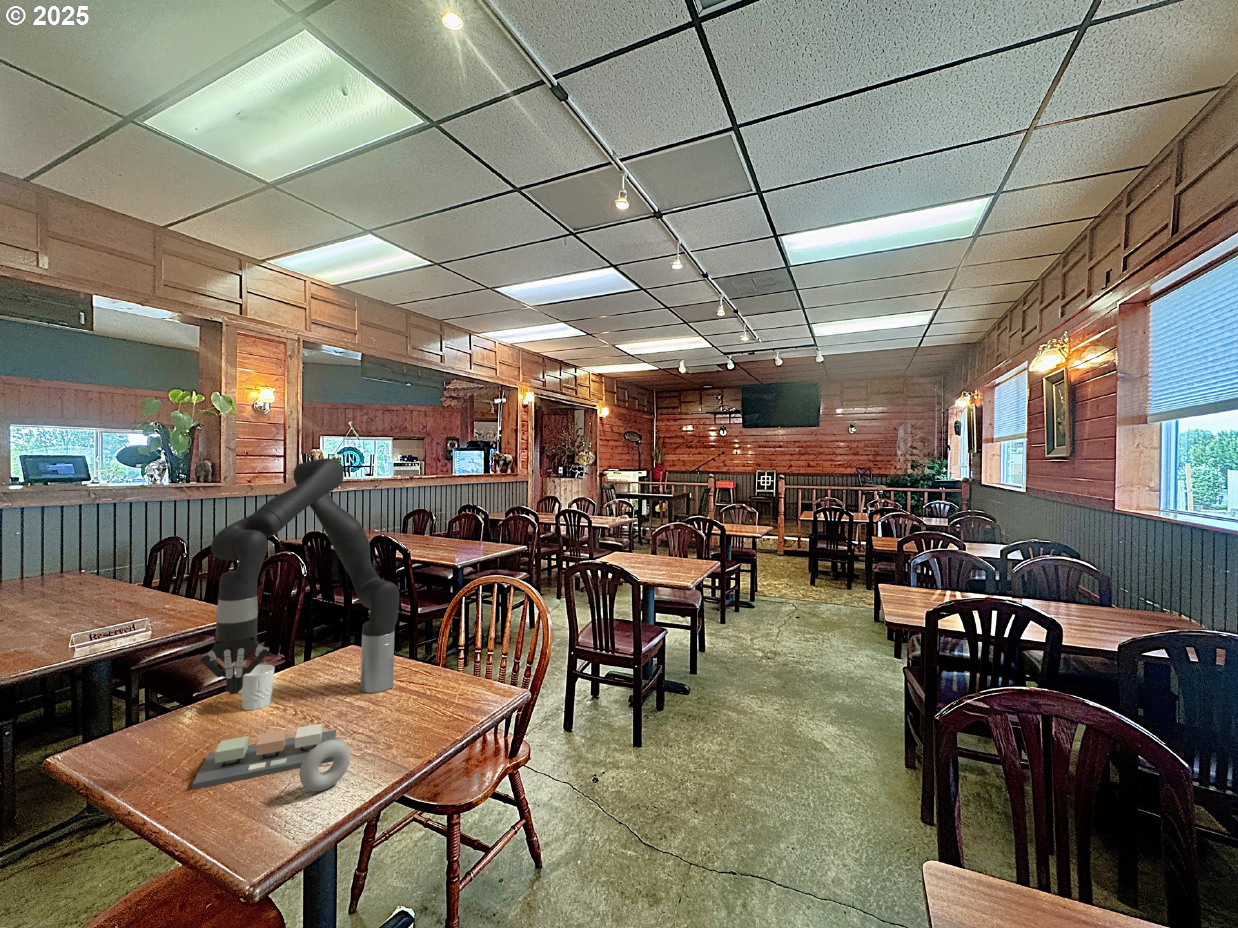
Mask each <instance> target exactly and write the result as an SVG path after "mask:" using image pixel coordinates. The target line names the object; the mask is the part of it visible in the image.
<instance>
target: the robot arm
mask: <svg viewBox="0 0 1238 928" xmlns="http://www.w3.org/2000/svg"><path fill="white" fill-rule="evenodd" d="M344 475H345V474H344V470H343V467H342V465H341V464H340V462H339V461H337V460H336V459H333V458H329V457H328V458H321V459H319V458H318V459H315V460H309V461H306V462H302V463H298V464H297V465H296V466H295V468H294V469H293V481H294V483H295V486H293V487H292V488H290V489H288V490H286V491H284V492H282V493H280V494H278V495H276V496H274V497H273V498H272V499H270V500H268V501H267V502H266V503H264V504H263V505H262V506H261V507H259V508H258V509H256V510H255V511H254V512H253V513H251V515H249V516H246V517H243V518H242V519H240V520H238V521H236V522H233V523H231V524H230V525H228V526H225V527H224V528H223V529H221V530H220V531H219V532H218V533H217V534H215V536H214V538H213V540H212V541H211V545H210V546H211V547H210V549H211V554H212V555H213V556H214V557H216V558H217V559H220V560H223V561H237V562H238V564H237V567H236V569H234V570H229V571H225V572H223V574H221V576H220V577H219V584H218V602H217V608H216V614H215V620H216V621H215V622H216V623H215V642H214V645H213V646H212V650H210V651H208V652H206V653H204V654H203V655H202V656H201V658H200V662H201V663H202V665H204V666H205V667H206V668H207V669H208V670H210V672H211V673H212V674H214V676H216V678H225V679H226V683H225V684H226V687H225V690H226V692H227V693H229V695H236V694H237V695H238V694H239V692H241V689H242V687H243V675H245V674H248V673H251V671H252V670H253V669H254V668H255V667H256V666H258V665H259V664H260V663H261V661H262V660H263V659H264V658H265V657H266V656H267V654H268V652H269V651H270V647H269V646H263V645H261V644H260V641H259V638H258V636H257V635H258V612H259V611H258V609H259V608H258V607H259V605H258V578H259V575H260V573H261V569H262V566H263V564H264V561H265V557H266V555H267V552H268V547H269V542H268V539H269V538H272V537H274V536H276V534H278V533H279V532H280V531H281V530H282V529H283V528H284V527H285V526H287V525H288V524H289V523H290V522H291V521H292V520H293V519H294V518H295V517H296V516H298V515H299V514H300V513H301V512H302V511H304V510H306V509H307V508H308V507H310V508H311V510H312V511H313V513H314V515H315V516H316V517H317V519H318V521H319V523H320V525H321V527H322V528H323V530H324V531H325V533H326V535H327V537H328V540H329V542H330V543H331V545H332V547H333V550H334V552H335V553H336V554H337V556H338V558H339V559H340V562H341V563H342V565H343V568H344V569H345V571H346V572H347V574H348V575H349V578H350V580H351V583H352V585H353V588H354V590H355V592H356V595H357V596H356V597H357V598H358V601H359V602H360V604H361V605H363V607H365V608H367V609H368V610H370V614H369V620H368V621H365V622H364V623H363V624H362V631H361V657H360V658H361V659H360V660H361V661H360V679H359V681H360V682H359V685H360V686H359V687H360V688H359V689H360V690H359V691H361V692H363V693H368V694H369V693H370V694H371V693H374V694H375V693H379V692H384V691H387V690H389V689H392V688H394V678H395V677H394V673H395V654H394V653H395V629H396V624H397V622H398V620H399V619H398V618H399V609H400V591H399V587H398V586H397V585H396V584H395V583H393V582H391V581H388V580H384V579H382V578H381V576H379V575H378V573H377V570H376V569H375V567H374V566H373V563H372V561H371V545H370V541H369V538H368V536H367V534H366V531H365V529H364V528H363V525H362V524H361V523H360V521H359V520H358V519H357V518H355V516H353V514H351V513H349V512H348V511H347V510H345V509H343V508H342V507H341V506H340V505H338V504H337V503H336V502H335V501H334V499H333V498H332V497H331V495H330V492H333V491H334V490H336V488H338V487H339V486H341V484H342V483H343V481H344ZM267 538H268V539H267ZM255 650H256V651H255ZM254 652H255V653H254ZM253 653H254V654H255V655H254V656H255V657H254V658H253V660H252V661H251V662H250V663H249V664H248V665H247V666H246V661H247V660H248V659H249V657H251V655H252V654H253ZM217 658H219V660H220V661H221V662H222V663H224V666H223V665H222V664H221V663H220V662H219V661H217V660H216V659H217Z"/></svg>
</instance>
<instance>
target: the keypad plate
mask: <svg viewBox="0 0 1238 928" xmlns="http://www.w3.org/2000/svg"><path fill="white" fill-rule="evenodd" d="M336 735H337V730H336V729H333V730H332V729H331V730H327V731H322V737H321V743H323V742H324V741H328V740H333V739H334V740H336V737H337V736H336ZM295 737H296V736H294V737H286V742H285V746H284V749H283V751H278V752H277V753H276V755H271V756H270V757H269V756H266V757H265V754H262V755H257V756H256V745H257V743H254V744H253V743H252V744H248V748H247V751H246V753H245V756H244V758H241V759H238V760H237V762H234V763H233V764H232V763H229V764H228V765H227V764H225V762H219V763H215V752H216V750H214V751H210V752H208V754H207V756H206V758H205V760H204V762H203V764H202V765H201V767H200V768H199V771H198V773H197V775H196V776H195V778H194V781H193V782H192V787H191V788H192V789H191V790H198V789H201V788H208V787H212V786H213V787H214V786H216V785H217V786H218V785H222V784H228V783H231V782H232V783H233V782H238V781H242V780H247V779H252V778H257V777H263V776H266V775H270V774H276V773H281V772H286V771H290V770H296V769H300V768H301V765H302V763H303V761H304V759H305V757H306V756H307V755H308V753H309V752H310V751H311V750H312V749H313V748H315V747H316V746H317V745H319V744H315V745H314V747H313V748H312V749H311V748H308V749H307V750H306V749H303V747H299V748H295ZM333 761H334V760H333V758H332V757H328V758H326V759H324V760H323V761H322V762H321V763H320V765H321V764H326V763H330V762H333ZM235 763H236V764H235Z"/></svg>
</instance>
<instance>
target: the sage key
mask: <svg viewBox="0 0 1238 928" xmlns="http://www.w3.org/2000/svg"><path fill="white" fill-rule="evenodd" d="M249 739H250V736H248V735H247V736H241V737H236V738H229V739H224V740H221V741H220V742H219V744H218V746H217V748H216V750H215V751H216V752H215V763H219V762H225V764H226V765H230V764H229V763H231V764H235V763H234V762H237V760H238V759H241V758H244V756H245V753H246V751H247V748H248V745H249ZM237 763H238V762H237Z"/></svg>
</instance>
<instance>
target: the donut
mask: <svg viewBox="0 0 1238 928" xmlns="http://www.w3.org/2000/svg"><path fill="white" fill-rule="evenodd" d="M310 750H311V751H310V752H309V753H308V755H307V756H306V757H305V759H304V761H303V763H302V765H301V768H299V769H300V771H299V781H300V783H301V785H302V786H303V788H305V789H307V790H309V791H310V792H322V791H324V790H327V789H329V788H331V787H333V786H334V785H336V784H337V783H338V782H340V780H341V779H342V778H343V776H344V775H345V774H346V772H347V771H348V768H349V765H350V763H351V757H352V756H351V751H350V750H351V749H350V748H349V746H348V744H347V743H346V742H344V741H343V740H340V739H335V740H334V739H333V740H328V741H324V742H323V743H321V744H319V745H317V746H316V747H315V748H311V749H310ZM328 757H332V758H333V761H332V764H331V766H330V767H329V768H328V769H327V770H325V771H324V772H319V767H320V765H321V764H322V763H321V762H322V761H323V760H324V759H326V758H328ZM320 763H321V764H320Z"/></svg>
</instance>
